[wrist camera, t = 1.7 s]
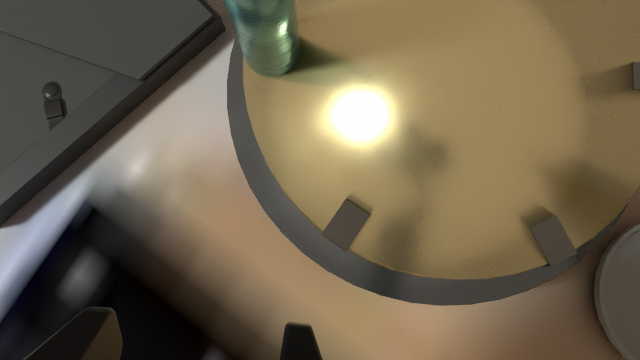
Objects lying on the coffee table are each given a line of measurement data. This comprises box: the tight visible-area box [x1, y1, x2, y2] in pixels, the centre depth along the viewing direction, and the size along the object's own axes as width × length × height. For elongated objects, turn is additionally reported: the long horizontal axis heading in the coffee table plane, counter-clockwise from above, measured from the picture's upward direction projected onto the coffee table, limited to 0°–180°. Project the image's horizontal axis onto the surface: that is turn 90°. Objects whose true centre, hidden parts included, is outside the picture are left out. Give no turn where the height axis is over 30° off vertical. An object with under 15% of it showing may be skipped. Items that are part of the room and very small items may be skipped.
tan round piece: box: [224, 0, 640, 280], centre depth 16 cm, size 15×15×10 cm
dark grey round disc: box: [227, 36, 628, 305], centre depth 22 cm, size 17×18×3 cm
